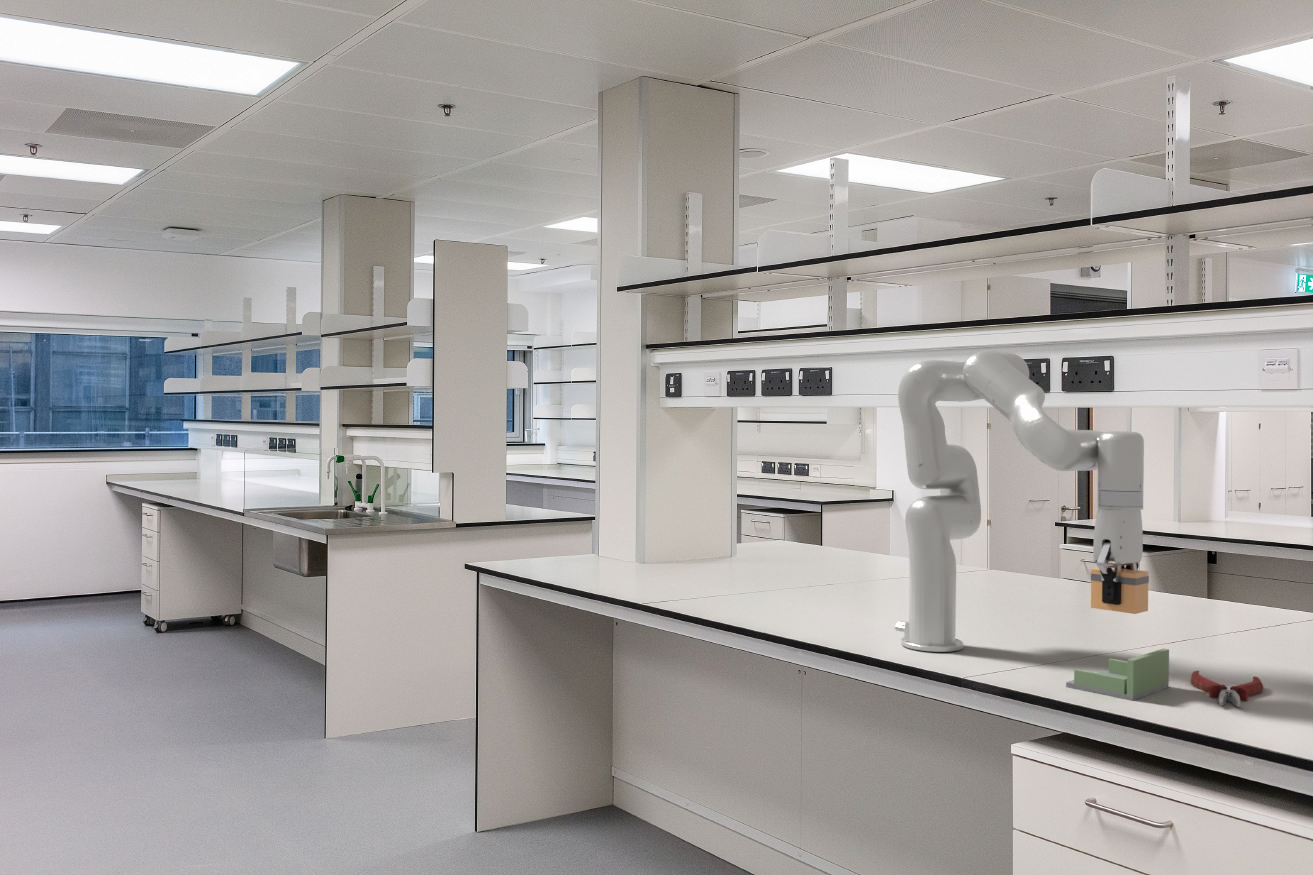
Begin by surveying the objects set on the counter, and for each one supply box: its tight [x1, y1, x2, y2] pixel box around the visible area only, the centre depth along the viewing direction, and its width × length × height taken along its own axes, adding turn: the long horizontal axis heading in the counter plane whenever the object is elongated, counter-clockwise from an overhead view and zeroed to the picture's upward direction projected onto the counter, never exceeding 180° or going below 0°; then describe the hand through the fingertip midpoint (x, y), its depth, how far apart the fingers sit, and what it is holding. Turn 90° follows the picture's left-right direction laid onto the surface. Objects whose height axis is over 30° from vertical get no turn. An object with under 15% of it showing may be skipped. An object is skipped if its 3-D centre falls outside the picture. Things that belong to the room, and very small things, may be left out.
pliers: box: [1190, 670, 1264, 708], centre depth 183 cm, size 11×20×3 cm, turn 154°
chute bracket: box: [1065, 648, 1170, 701], centre depth 189 cm, size 12×14×7 cm
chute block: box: [1090, 567, 1150, 615], centre depth 189 cm, size 8×5×7 cm, turn 41°
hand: (1119, 600), depth 189 cm, fingers closed on chute block, 5 cm apart
